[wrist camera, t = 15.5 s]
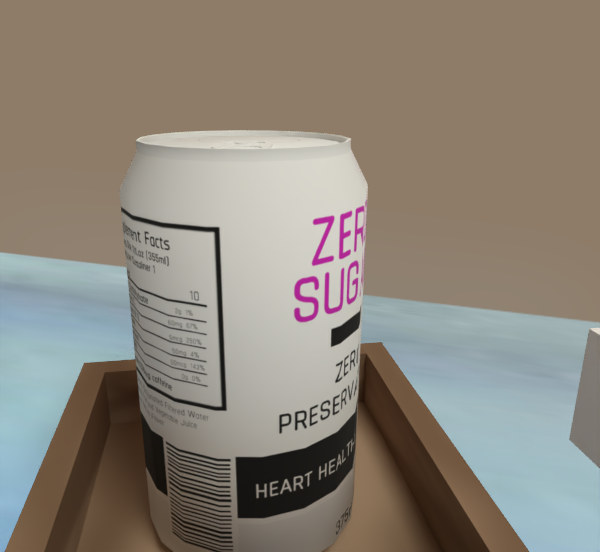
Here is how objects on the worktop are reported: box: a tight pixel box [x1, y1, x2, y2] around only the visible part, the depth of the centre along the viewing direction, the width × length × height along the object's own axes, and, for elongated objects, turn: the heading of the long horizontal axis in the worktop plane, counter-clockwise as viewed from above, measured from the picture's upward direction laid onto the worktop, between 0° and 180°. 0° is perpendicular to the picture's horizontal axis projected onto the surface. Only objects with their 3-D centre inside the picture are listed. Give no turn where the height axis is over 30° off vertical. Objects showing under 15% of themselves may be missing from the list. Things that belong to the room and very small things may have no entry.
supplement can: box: [120, 130, 368, 552], centre depth 21 cm, size 8×8×15 cm
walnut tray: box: [5, 342, 529, 552], centre depth 23 cm, size 16×17×4 cm
